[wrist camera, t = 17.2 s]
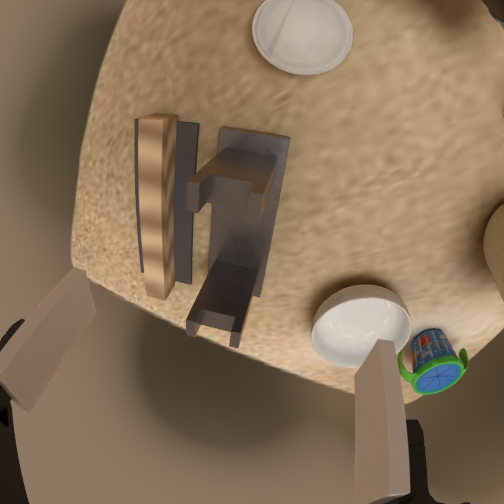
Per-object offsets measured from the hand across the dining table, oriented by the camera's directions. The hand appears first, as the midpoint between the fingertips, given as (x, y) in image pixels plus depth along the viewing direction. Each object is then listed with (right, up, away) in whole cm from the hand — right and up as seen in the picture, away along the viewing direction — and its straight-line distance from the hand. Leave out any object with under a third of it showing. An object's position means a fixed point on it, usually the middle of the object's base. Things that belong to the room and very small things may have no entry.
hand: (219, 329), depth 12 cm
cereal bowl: (+20, -7, +38) cm, 44 cm away
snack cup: (+37, -14, +40) cm, 56 cm away
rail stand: (0, +8, +33) cm, 34 cm away
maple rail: (-13, +10, +34) cm, 37 cm away
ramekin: (+8, +30, +18) cm, 36 cm away
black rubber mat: (-12, +10, +34) cm, 38 cm away
